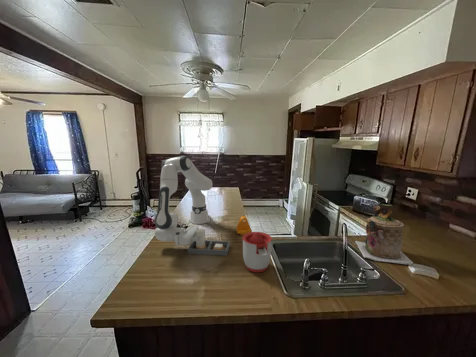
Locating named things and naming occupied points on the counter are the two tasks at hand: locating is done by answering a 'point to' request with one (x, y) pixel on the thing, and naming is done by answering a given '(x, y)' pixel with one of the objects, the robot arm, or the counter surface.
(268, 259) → the citrus juicer
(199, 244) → the white upright block
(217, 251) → the grey divided tray
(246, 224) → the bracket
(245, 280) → the counter surface
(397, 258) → the cookie jar
